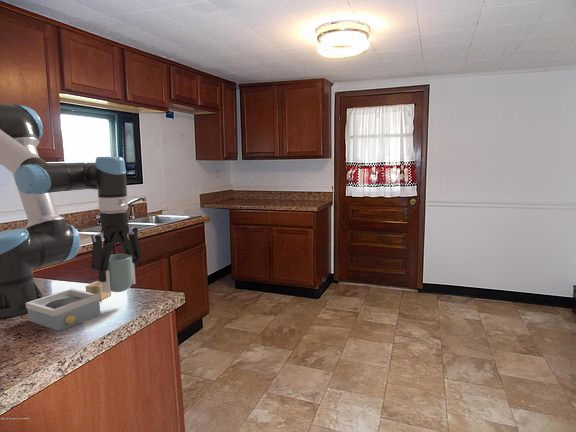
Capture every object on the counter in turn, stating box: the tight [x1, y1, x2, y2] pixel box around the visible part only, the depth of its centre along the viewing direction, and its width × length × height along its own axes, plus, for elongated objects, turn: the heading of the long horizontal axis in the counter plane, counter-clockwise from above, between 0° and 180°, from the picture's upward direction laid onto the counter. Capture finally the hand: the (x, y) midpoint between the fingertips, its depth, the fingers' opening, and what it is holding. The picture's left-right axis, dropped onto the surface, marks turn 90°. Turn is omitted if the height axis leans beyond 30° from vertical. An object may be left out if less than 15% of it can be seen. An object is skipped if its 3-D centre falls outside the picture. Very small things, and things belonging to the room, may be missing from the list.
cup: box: [106, 253, 133, 293], centre depth 113 cm, size 8×8×10 cm
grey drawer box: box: [26, 288, 101, 331], centre depth 108 cm, size 15×13×6 cm
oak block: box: [85, 280, 112, 302], centre depth 123 cm, size 5×5×5 cm
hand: (119, 287), depth 114 cm, fingers closed on cup, 8 cm apart
